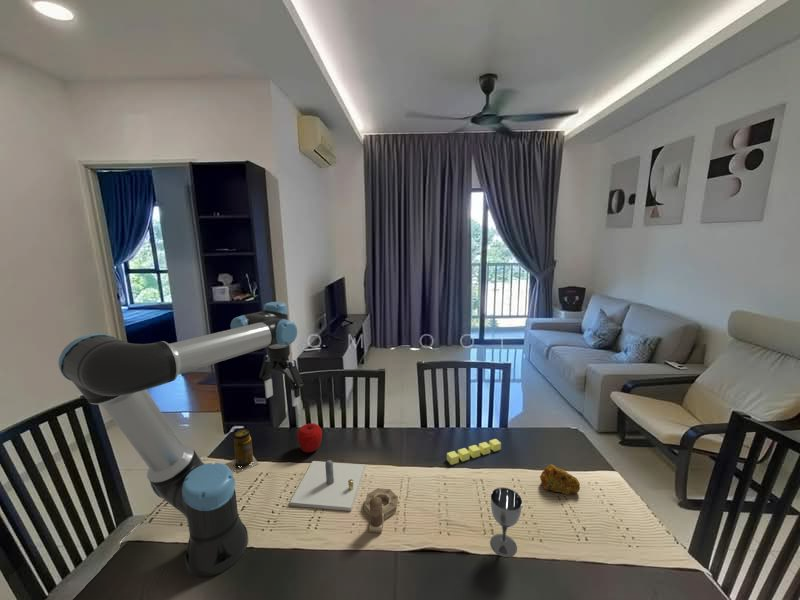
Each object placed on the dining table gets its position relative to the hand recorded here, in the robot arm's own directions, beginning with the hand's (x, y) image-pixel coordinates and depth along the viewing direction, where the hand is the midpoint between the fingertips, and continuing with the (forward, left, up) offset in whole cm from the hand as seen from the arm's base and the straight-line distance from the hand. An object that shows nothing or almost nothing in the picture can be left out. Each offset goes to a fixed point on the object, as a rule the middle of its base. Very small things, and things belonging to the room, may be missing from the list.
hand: (282, 400), depth 126 cm
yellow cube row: (+12, -70, -25) cm, 75 cm away
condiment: (-3, +15, -25) cm, 30 cm away
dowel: (-13, -28, -25) cm, 40 cm away
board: (-11, -21, -25) cm, 34 cm away
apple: (+7, -7, -25) cm, 27 cm away
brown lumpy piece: (-4, -98, -25) cm, 101 cm away
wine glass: (-28, -76, -25) cm, 84 cm away
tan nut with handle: (-21, -40, -25) cm, 51 cm away
